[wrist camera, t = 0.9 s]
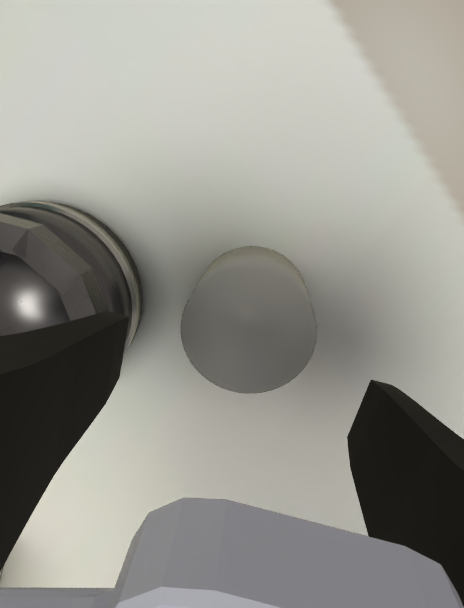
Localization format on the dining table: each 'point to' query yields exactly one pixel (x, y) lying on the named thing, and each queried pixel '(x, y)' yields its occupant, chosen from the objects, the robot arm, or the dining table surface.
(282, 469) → the dining table surface
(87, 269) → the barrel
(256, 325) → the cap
